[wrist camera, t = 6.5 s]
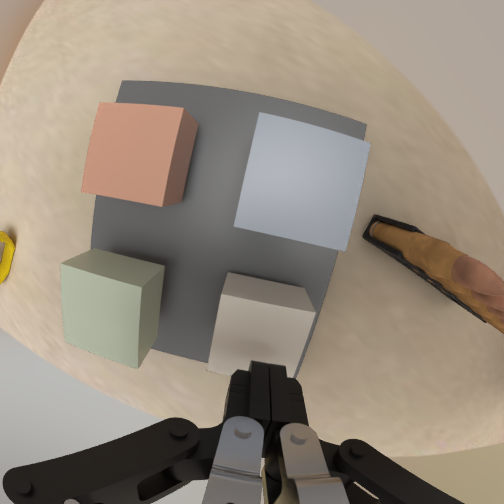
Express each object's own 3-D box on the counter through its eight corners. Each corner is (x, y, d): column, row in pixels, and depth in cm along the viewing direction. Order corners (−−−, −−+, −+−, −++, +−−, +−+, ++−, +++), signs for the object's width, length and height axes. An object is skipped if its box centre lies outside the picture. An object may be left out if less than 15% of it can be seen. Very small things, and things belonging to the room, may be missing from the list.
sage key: (165, 265, 15) (141, 287, 12) (157, 336, 16) (137, 369, 13) (94, 248, 15) (60, 263, 11) (93, 316, 16) (65, 342, 12)
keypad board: (360, 127, 16) (384, 115, 13) (294, 369, 20) (300, 402, 17) (129, 85, 16) (103, 67, 12) (96, 321, 20) (72, 344, 16)
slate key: (345, 152, 14) (370, 143, 10) (325, 236, 15) (345, 252, 11) (258, 129, 13) (259, 112, 10) (238, 217, 14) (233, 226, 11)
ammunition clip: (361, 236, 18) (483, 306, 6) (374, 213, 18) (508, 255, 6) (451, 299, 19) (547, 371, 8) (462, 281, 19) (562, 343, 7)
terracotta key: (198, 123, 15) (183, 107, 11) (181, 202, 16) (162, 206, 12) (127, 116, 14) (99, 102, 11) (112, 189, 16) (80, 191, 12)
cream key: (304, 287, 17) (315, 312, 13) (284, 352, 18) (290, 385, 14) (228, 272, 17) (221, 293, 13) (214, 338, 18) (206, 370, 14)
